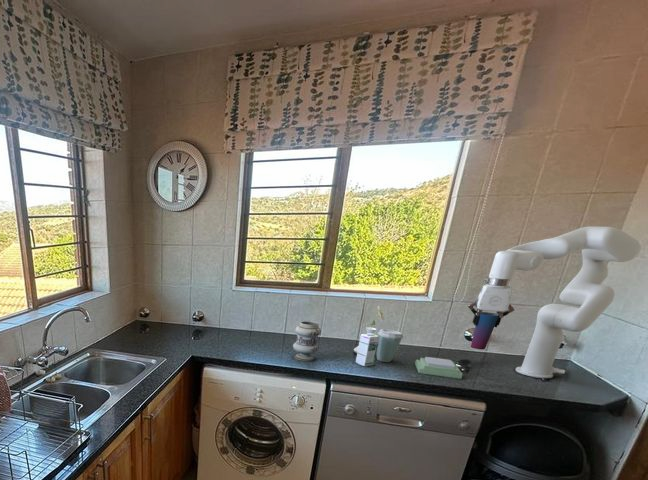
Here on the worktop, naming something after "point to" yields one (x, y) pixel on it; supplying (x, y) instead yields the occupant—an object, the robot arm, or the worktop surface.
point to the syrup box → (367, 349)
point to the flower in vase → (370, 329)
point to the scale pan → (439, 362)
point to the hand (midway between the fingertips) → (484, 325)
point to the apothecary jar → (306, 340)
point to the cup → (483, 330)
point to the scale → (437, 370)
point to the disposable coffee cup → (388, 344)
